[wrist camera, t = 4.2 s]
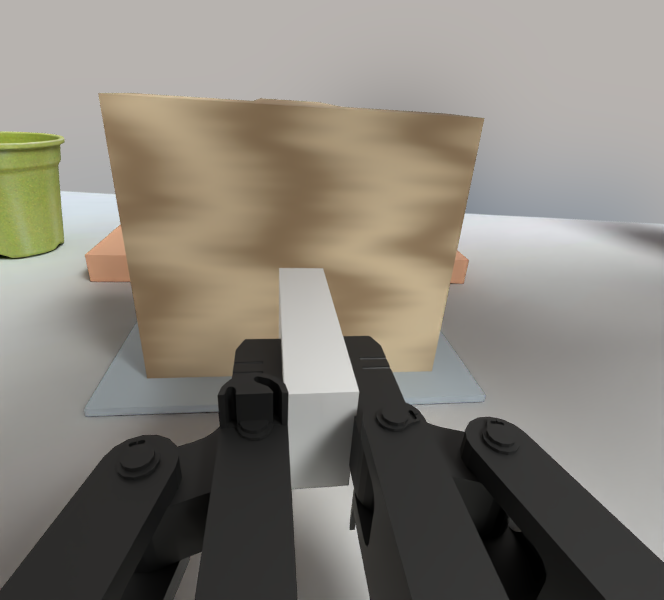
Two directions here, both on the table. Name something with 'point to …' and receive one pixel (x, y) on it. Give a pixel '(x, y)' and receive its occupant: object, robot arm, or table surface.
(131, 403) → the push board
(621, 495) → the table surface
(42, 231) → the plant pot
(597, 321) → the table surface
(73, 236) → the table surface
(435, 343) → the oak T block
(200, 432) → the table surface
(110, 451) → the robot arm
